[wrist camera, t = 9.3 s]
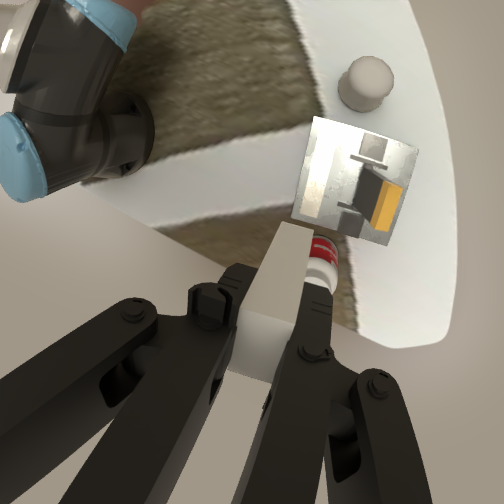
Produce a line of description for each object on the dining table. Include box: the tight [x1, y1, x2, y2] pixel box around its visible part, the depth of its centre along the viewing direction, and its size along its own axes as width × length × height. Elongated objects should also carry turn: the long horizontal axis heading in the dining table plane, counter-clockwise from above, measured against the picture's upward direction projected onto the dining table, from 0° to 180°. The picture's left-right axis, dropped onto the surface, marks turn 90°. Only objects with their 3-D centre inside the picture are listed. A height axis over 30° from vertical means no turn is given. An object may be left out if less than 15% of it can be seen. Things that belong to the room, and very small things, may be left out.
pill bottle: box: [304, 235, 338, 295], centre depth 37 cm, size 6×6×11 cm
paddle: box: [352, 163, 403, 232], centre depth 30 cm, size 2×6×8 cm, turn 170°
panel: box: [291, 116, 419, 246], centre depth 35 cm, size 14×14×3 cm
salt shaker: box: [338, 56, 394, 112], centre depth 25 cm, size 6×6×13 cm
